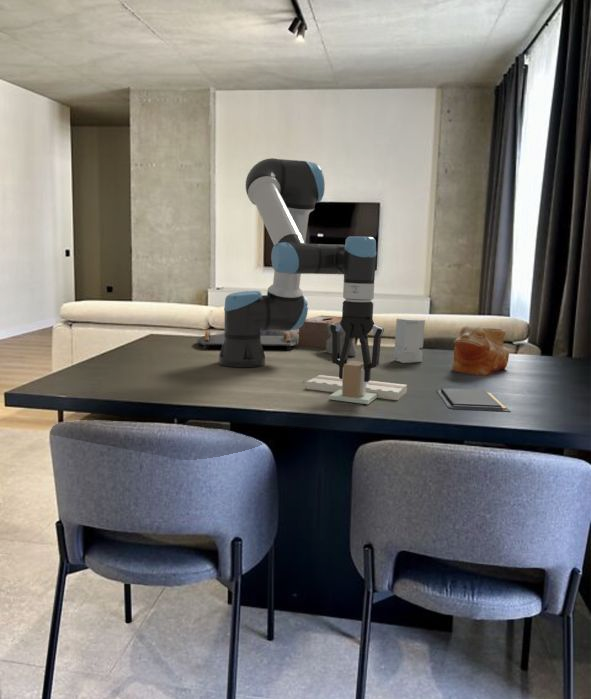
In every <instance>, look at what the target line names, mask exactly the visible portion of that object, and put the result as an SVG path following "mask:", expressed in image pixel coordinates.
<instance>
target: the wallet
mask: <svg viewBox="0 0 591 699" xmlns="http://www.w3.org/2000/svg"><path fill="white" fill-rule="evenodd" d="M435 391H436V393H437V395H438V396H439V397H440V399H441V400H442V401H443V403H444V404H445V406H446V408H447V409H449V410H454V411H455V410H456V411H471V412H472V411H473V412H474V411H475V412H494V413H495V412H497V413H512V412H511V410H510V409H509V408H508V407H506V406H505V405H504V403H502V402H501V401H500V400H499V399H498V398H496V396H494V395H493V394H492V393H491V392H488V391H486V390H483V389H470V388H469V389H467V388H463V389H462V388H440V389H437V390H435Z"/></svg>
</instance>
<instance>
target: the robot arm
mask: <svg viewBox="0 0 591 699" xmlns="http://www.w3.org/2000/svg"><path fill="white" fill-rule="evenodd" d="M325 184H326V183H325V177H324V174H323V170H322V169H321V167H320V166H319V165H318V163H316V162H312V161H307V160H296V159H283V158H273V157H271V158H265V159H262V160H261V161H258V162H257V163H256V164H255V165H254V166H252V168H251V169H250V170H249V172H248V173H247V176H246V180H245V191H246V195H247V197H248V199H249V201H250V202H251V204H252V205H254V206H256V209H257V210H258V212H259V215H260V217H261V220H262V222H263V224H264V226H265V228H266V230H267V233H268V235H269V237H270V239H271V242H272V244H273V247H272V249H271V255H270V256H271V257H270V258H271V259H270V260H271V266H272V268H273V270H274V272H273V273H274V274H273V282H272V284H271V285H270V286H269V287H268V288H267V292H266V295H265V294H264V295H262V291H260V290H250V291H249V290H247V291H246V290H244V291H238V292H231V293H229V294H228V295H226V297H225V299H224V307H223V311H224V330H223V331H224V335H225V336H224V343H223V345H221V348H220V351H219V355H218V364H219V365H221V366H223V367H224V366H225V367H228V368H229V367H230V368H231V367H232V368H256V367H261V366H264V365H266V354H265V351H264V348H263V346H262V344H261V340H260V336H261V332H269V331H270V332H271V331H272V332H273V331H274V332H275V331H278V332H279V331H280V332H281V331H284V332H285V331H288V332H290V331H294V330H299V328H300V327H302V325H303V324H304V322H305V320H306V319H307V317H308V311H309V310H308V309H309V307H308V300H307V297H306V296H305V295H304V292H303V290H302V289H301V288H300V285H301V278H302V277H301V275H302V274H303V275H305V274H307V275H309V274H311V275H312V274H313V275H343V286H342V287H343V289H342V290H343V292H342V297H343V299H344V300H343V302H342V313H341V314H342V316H341V317H342V319H341V321H340V323H338V324H333V325H331V326H330V328H331V331H332V354H331V355H332V356H331V359H332V360H331V363H332V364H335V365H337V366H338V368H339V369H338V370H339V371H338V377H339V378H340V379H342V393H343V371H344V364H346V363H348V360H349V359H348V358H349V356H348V355H349V351H350V347H351V343H352V340H353V341H354V338H355V339H358V341H359V343H360V347H361V348H360V349H361V355H362V362H363V363H364V368H363V369H361V382H360V395H364V394H365V393H366V382H369V381H371V378H372V377H371V376H372V374H371V373H372V372H371V371H372V369H373V368H374V369H375V368H377V367H378V366H379V365H380V364H379V363H380V355H381V354H380V353H381V343H382V336H383V333H384V332H385V329H384V327H380V326H377V325H376V324H375V322H374V318H373V317H374V302H373V300H374V296H375V281H376V280H375V279H376V277H375V276H376V261H377V241H376V239H375V238H374V237H373V236H348V237H346V239H345V244H341V243H340V244H328V243H327V244H324V243H307V242H306V237H307V231H308V230H307V229H308V224H309V217H310V216H309V215H310V213H311V212H313V211H315V206H316V204H317V203H319V202H321V201H322V199H323V197H324V195H325V190H326V189H325ZM341 327H342V328H343V330H344V332H345V333H346V335H345V339H344V340H345V341H344V345H343V349H342V353H341V356H340V331H341ZM371 331H372V334H373V341H372V342H373V343H372V352H371V353H370V346H369V334H370V332H371ZM371 354H372V355H371Z"/></svg>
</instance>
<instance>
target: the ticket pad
mask: <svg viewBox="0 0 591 699" xmlns="http://www.w3.org/2000/svg"><path fill="white" fill-rule="evenodd" d="M407 386H408V384H402V383H395V382H394V383H393V382H385V381H377V380H370V381H369V382H366V392H369V393H377V398H378V399H385V400H393V401H399V400H400V399H401V398H402V397H403V396H404V395H405V394H406V393H407V392H408V390H407V389H408V387H407ZM305 389H306V390H312V391H321V392H329V393H335V392H336V391H338V390H339V389H342V379H340V378H339V376H334V375H332V376H331V375H323V374H319V375H316V376H314V377H313V378H311V379H309V380H307V381H306V388H305ZM377 398H376V399H377Z"/></svg>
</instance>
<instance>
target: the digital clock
mask: <svg viewBox="0 0 591 699" xmlns="http://www.w3.org/2000/svg"><path fill="white" fill-rule="evenodd" d="M331 325H333V324H332V323H329V324H328V325H327V329H328V332H329V336H330V338H329V339H328V340H327V341H326V348H325V352H326V353H327V354H330V355H332V331H331V328H330V326H331ZM345 335H346V333H345V332H344V330H343V328H342V327H341V331H340V357H341V353H342V349H343V345H344V341H345V340H344V339H345ZM357 354H358V353H357V348H356V345H355V342H354V339H353V340H352V343H351V347H350V351H349V355H348V357H356V356H357Z"/></svg>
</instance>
